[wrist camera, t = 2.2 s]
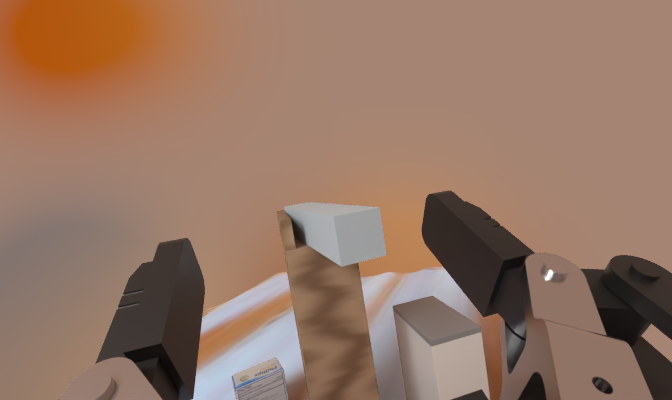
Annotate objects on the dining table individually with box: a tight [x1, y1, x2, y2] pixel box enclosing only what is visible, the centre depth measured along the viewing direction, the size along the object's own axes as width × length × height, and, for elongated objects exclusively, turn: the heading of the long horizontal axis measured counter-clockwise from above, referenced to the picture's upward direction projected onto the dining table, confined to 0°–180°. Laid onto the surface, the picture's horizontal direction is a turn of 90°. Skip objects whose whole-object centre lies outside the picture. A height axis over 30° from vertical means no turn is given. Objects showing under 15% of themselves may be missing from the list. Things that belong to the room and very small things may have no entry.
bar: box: [284, 202, 386, 267], centre depth 32 cm, size 4×21×4 cm, turn 19°
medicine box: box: [232, 358, 289, 400], centre depth 52 cm, size 8×4×9 cm, turn 117°
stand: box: [277, 210, 379, 400], centre depth 39 cm, size 7×14×35 cm, turn 13°
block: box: [393, 296, 490, 400], centre depth 38 cm, size 6×10×20 cm, turn 13°
